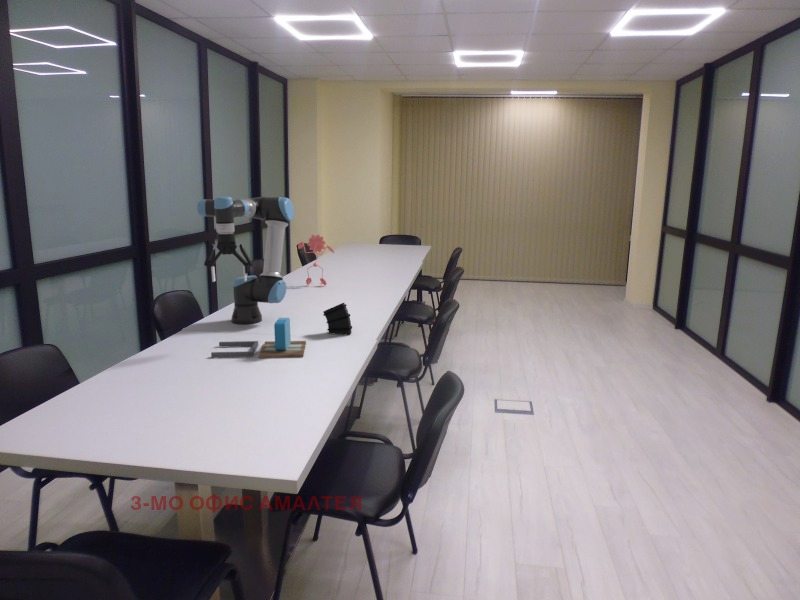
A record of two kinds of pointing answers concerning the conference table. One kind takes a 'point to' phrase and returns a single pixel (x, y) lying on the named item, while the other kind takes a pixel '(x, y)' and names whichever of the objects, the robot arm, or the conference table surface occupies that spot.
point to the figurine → (315, 245)
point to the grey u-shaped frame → (236, 354)
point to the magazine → (338, 319)
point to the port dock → (292, 351)
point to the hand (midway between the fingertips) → (229, 281)
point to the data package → (282, 333)
